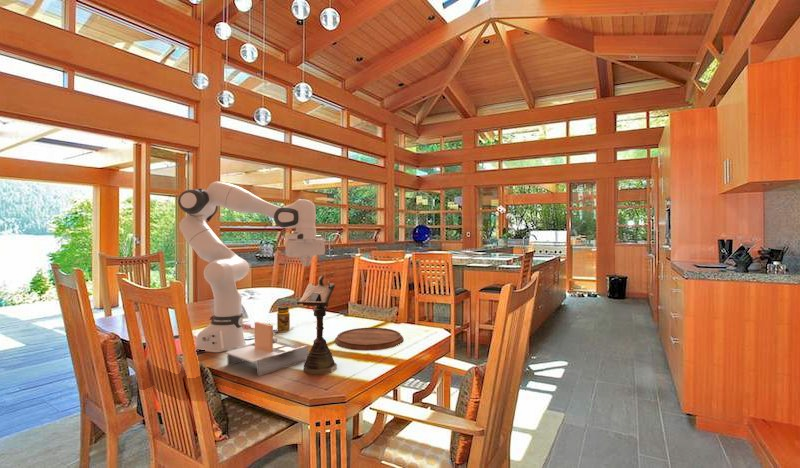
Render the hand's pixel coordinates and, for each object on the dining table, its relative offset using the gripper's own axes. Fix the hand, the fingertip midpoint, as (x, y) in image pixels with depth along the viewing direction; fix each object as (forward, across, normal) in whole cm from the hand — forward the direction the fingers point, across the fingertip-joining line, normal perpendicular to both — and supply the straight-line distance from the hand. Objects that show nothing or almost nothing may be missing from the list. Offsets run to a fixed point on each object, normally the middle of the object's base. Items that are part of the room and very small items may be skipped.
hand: (306, 266), depth 181 cm
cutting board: (+36, -21, +19) cm, 46 cm away
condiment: (+35, -9, -29) cm, 47 cm away
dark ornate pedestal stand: (+35, +21, +32) cm, 52 cm away
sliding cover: (+30, +33, +8) cm, 45 cm away
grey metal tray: (+35, +26, +8) cm, 44 cm away
